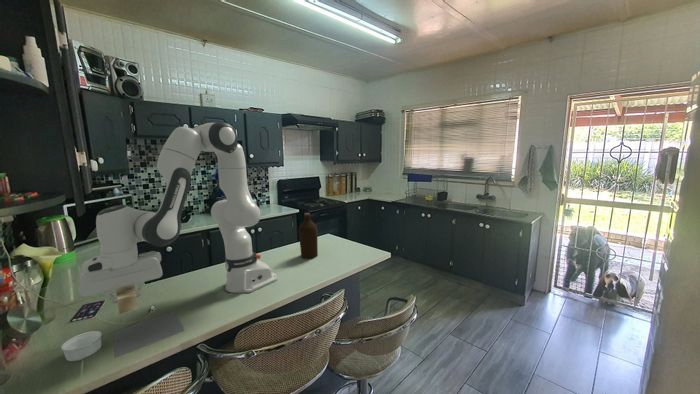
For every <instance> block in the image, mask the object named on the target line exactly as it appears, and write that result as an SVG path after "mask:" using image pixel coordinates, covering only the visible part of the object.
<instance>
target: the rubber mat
mask: <svg viewBox="0 0 700 394" xmlns="http://www.w3.org/2000/svg"><path fill="white" fill-rule="evenodd" d="M182 332H185V329H184V326H183V325H182V322H181V320H180V318H179V317H178V315H177V312H176V311H173V312H170V313H167V314H164V315H162V316H161V315H160V316H157V317H155V318H152V319H149V320H146V321H143V322H141V323H137V324H134V325H132V326H128V327H126V328H123V329H120V330H117V331H114V332H113V344H114V345H113V346H114V347H113V348H114V358H118V357H121V356H123V355H126V354H128V353H131V352H134V351H137V350H139V349H141V348H143V347H147V346H150V345H151V344H153V343H154V344H155V343H157V342H159V341H162V340H165V339H167V338H170V337H171V336H174V335H177V334H180V333H182Z"/></svg>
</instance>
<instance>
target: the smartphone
mask: <svg viewBox="0 0 700 394" xmlns="http://www.w3.org/2000/svg"><path fill="white" fill-rule="evenodd" d="M106 302H107V300H106V299H102V300H98V301H93V302H87V303H84V304H82V305H81V306H80V307H79V309H78V310H77V311H76V312H75V313H74V314H73V315H72V317H71V318H70V319H69V321H68V324H73V323H79V322H81V321H82V322H84V321H87V320H91V319H94V318H96V316H97V315H98V314H99V312H100V311H101V309H102V307H103V306H104V305H105V303H106Z"/></svg>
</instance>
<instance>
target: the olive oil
mask: <svg viewBox="0 0 700 394" xmlns="http://www.w3.org/2000/svg"><path fill="white" fill-rule="evenodd" d="M303 215H304V216H303V218H304V219H303V221H302V222H301V223H300V224H299V227H298V237H299V238H298V239H299V247H300V255H301V256H300V257H301V258H303V259H307V260H309V259H311V260H312V259H314V258H317V257H318V255H319V254H318V253H319V251H318V227H317V224H316V223H315V222H314V221H312V220H311V213H310V212H304V214H303Z"/></svg>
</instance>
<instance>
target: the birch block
mask: <svg viewBox="0 0 700 394" xmlns="http://www.w3.org/2000/svg"><path fill="white" fill-rule="evenodd" d="M115 290H116V295H117V307H118V314H119V315H121V314H124V313H128V312H132V311H134V310H138V309H139V306H138V305H139V303H138V299H137V298H138V297H136V292H135V290H136V288H135V284H134V285H130V286H126V287H122V288H119V289H115Z"/></svg>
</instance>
